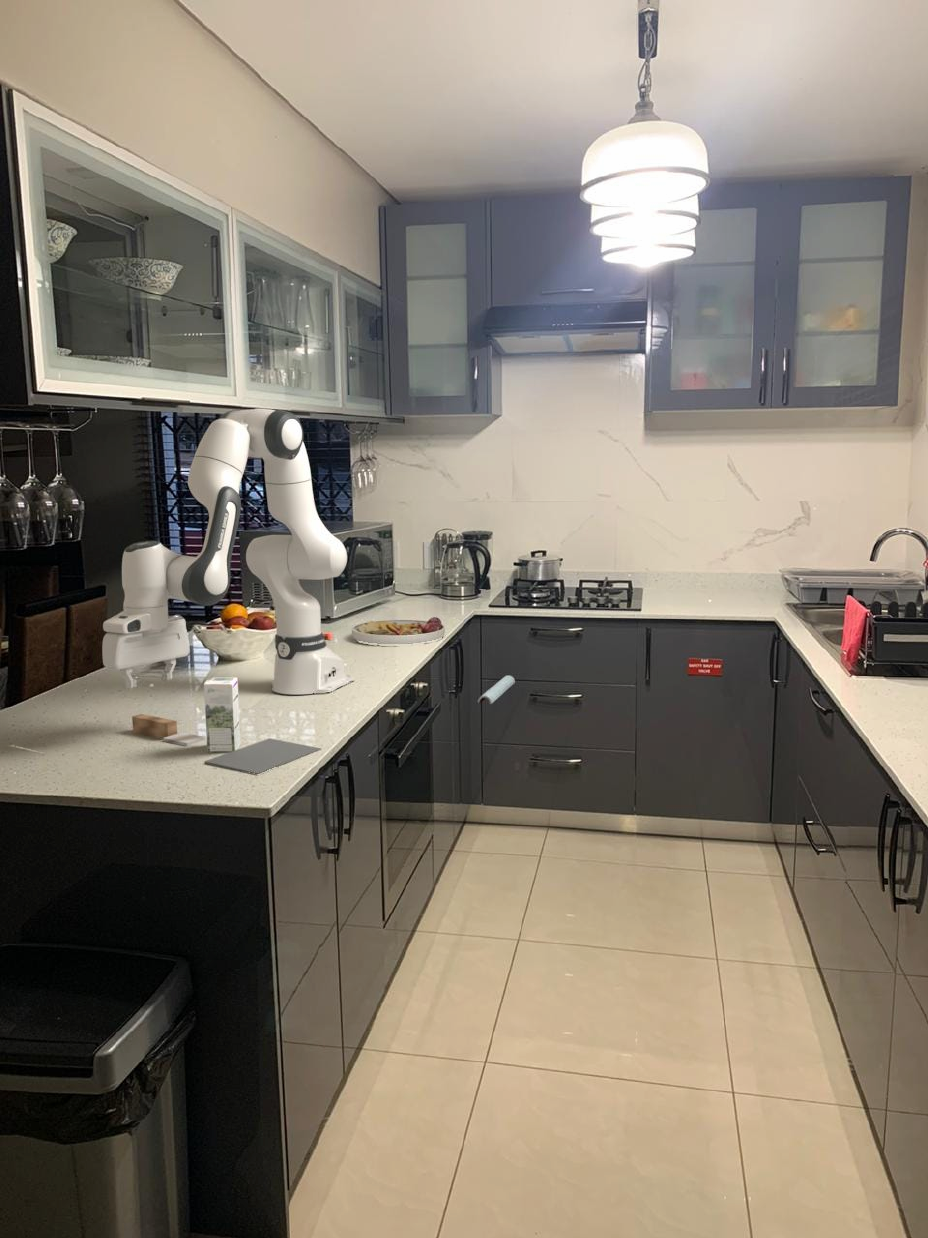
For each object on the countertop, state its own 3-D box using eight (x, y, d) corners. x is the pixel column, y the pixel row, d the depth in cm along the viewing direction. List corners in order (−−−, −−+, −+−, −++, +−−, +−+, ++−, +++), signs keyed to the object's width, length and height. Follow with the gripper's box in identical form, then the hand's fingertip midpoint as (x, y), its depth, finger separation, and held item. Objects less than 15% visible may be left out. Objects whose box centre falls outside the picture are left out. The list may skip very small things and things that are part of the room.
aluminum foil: (502, 687, 246) (502, 674, 246) (527, 689, 245) (527, 676, 244) (477, 709, 225) (477, 695, 225) (504, 711, 223) (504, 697, 223)
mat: (269, 741, 199) (269, 738, 199) (321, 751, 191) (321, 748, 191) (204, 764, 184) (204, 761, 183) (258, 776, 176) (258, 773, 176)
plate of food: (358, 653, 290) (358, 628, 289) (346, 636, 319) (345, 613, 318) (454, 648, 298) (454, 623, 296) (434, 632, 326) (433, 609, 325)
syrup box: (241, 744, 196) (238, 676, 194) (235, 753, 190) (232, 682, 188) (213, 745, 196) (209, 676, 194) (206, 753, 190) (202, 683, 188)
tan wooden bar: (128, 734, 205) (127, 717, 204) (147, 728, 209) (146, 712, 208) (186, 746, 195) (186, 729, 195) (205, 740, 200) (204, 724, 199)
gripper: (174, 612, 210) (177, 673, 212) (95, 624, 193) (99, 691, 195) (194, 614, 207) (197, 677, 209) (116, 626, 190) (120, 694, 192)
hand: (149, 684), depth 202 cm, fingers open, 8 cm apart
